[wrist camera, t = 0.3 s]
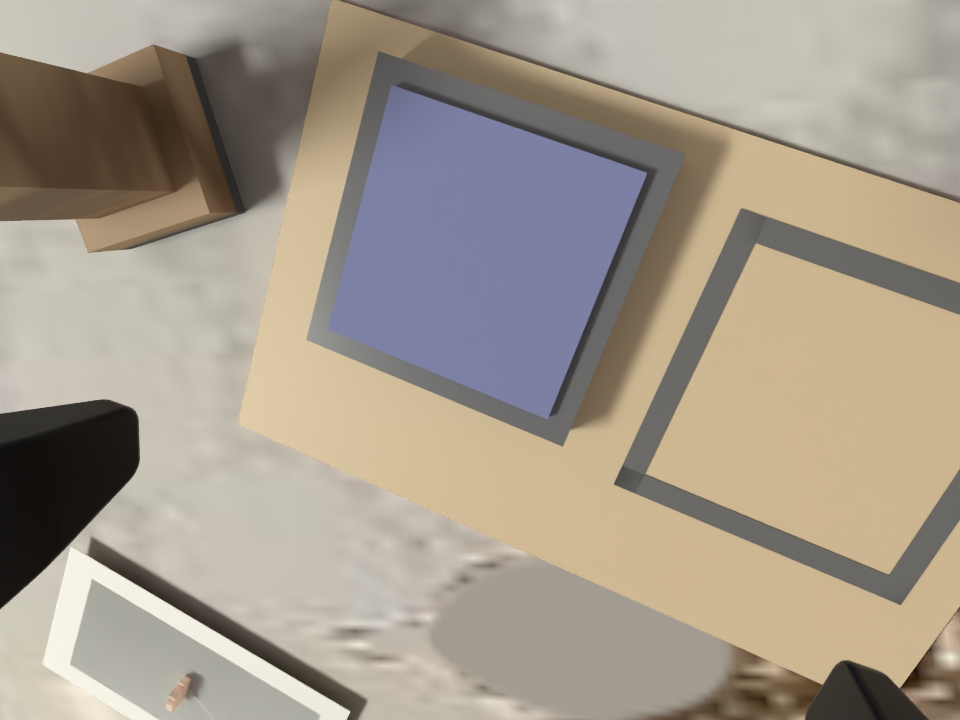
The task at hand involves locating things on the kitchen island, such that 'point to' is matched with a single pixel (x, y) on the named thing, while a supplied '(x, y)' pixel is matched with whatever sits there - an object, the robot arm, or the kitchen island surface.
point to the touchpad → (163, 657)
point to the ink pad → (486, 244)
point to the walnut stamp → (113, 149)
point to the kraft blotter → (677, 383)
